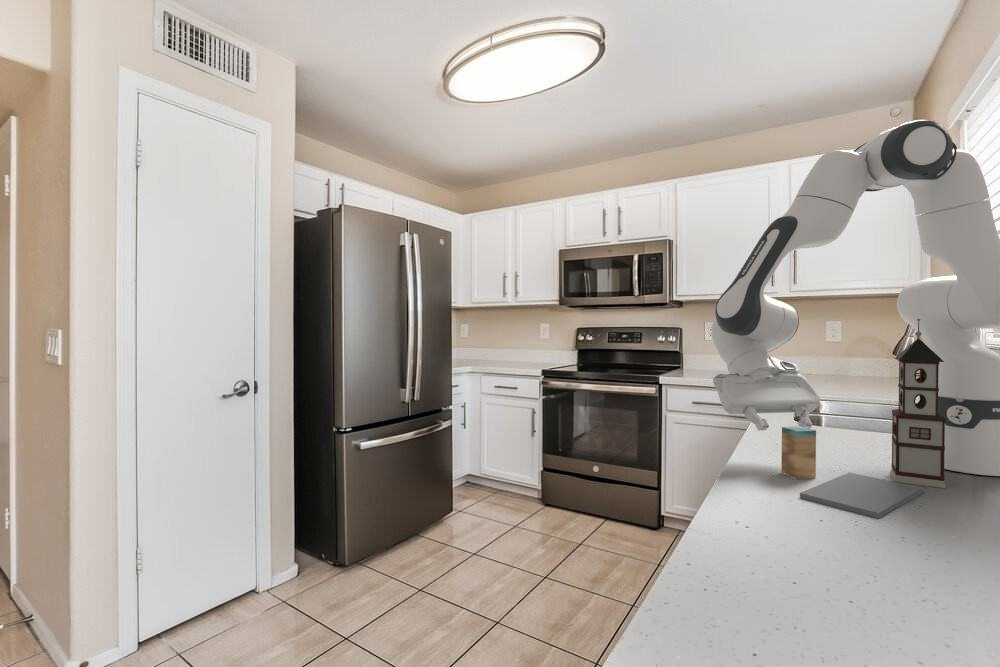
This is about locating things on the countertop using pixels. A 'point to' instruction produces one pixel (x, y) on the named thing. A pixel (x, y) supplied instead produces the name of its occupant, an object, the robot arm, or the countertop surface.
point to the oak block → (799, 452)
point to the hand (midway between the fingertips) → (785, 428)
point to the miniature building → (918, 419)
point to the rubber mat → (862, 494)
